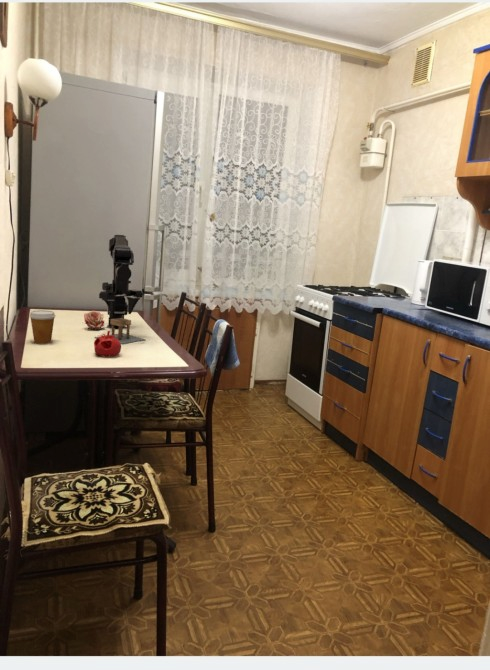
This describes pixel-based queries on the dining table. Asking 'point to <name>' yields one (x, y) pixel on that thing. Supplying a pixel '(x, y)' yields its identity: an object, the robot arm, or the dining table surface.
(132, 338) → the mat
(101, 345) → the pomegranate
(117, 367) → the dining table surface
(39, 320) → the disposable coffee cup
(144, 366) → the dining table surface
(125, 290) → the robot arm
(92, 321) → the flower
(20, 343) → the dining table surface
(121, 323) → the stool
